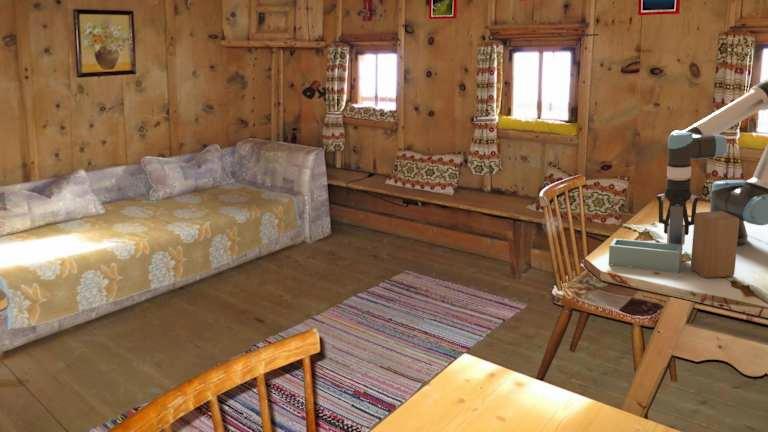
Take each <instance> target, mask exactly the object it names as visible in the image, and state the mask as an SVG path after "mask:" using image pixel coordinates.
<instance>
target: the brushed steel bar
mask: <svg viewBox="0 0 768 432" xmlns="http://www.w3.org/2000/svg"><path fill="white" fill-rule="evenodd" d="M669 224H670V231H669V243H668V244H678V245H682V226H683V225H684V218H683V206H681V205H678V204H676V205H673V206H671V207H670V219H669Z"/></svg>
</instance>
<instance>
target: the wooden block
mask: <svg viewBox="0 0 768 432" xmlns="http://www.w3.org/2000/svg"><path fill="white" fill-rule="evenodd" d="M738 230H739V218H738V217H735V216H733V215H731V214H728V213H726V212H723V211H712V212H710V211H700V212H699V211H698V212H696V213H695V218H694V225H693V231H692V232H693V233H692V234H693V235H692V244H691V245H692V247H691V259H690V269H691V271H694V272H695V273H697V274H698V275H699V276H702V277H704V278H705V279H714V278H727V277H733V276H734V275H735V271H736V269H735V268H736V259H737V250H738V249H737V247H738V245H737V240H738Z"/></svg>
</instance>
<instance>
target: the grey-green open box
mask: <svg viewBox="0 0 768 432" xmlns="http://www.w3.org/2000/svg"><path fill="white" fill-rule="evenodd" d="M683 246H684V245H678V244H669V243H667V242H664V243H663V242H655V241H644V240H633V239H624V238H613V240H612V241H611V242H610V244H609V249H608V250H609V252H608V253H609V254H608V265H609V264H613V265H612V266H617V265H620V266H619V267H625V266H631V267H630V268H634V267H637V268H638V269H643V268H644V269H645V270H651V269H653V271H661V270H662V271H661V272H668V273H669V272H670V273H679V272H680V269H681V266H682V260H683V258H682V257H683V248H684V247H683ZM621 265H622V266H621ZM637 268H636V269H637ZM644 269H643V270H644Z"/></svg>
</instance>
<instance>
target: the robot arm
mask: <svg viewBox="0 0 768 432" xmlns="http://www.w3.org/2000/svg"><path fill="white" fill-rule="evenodd" d="M767 110H768V78H766V79H765V80H764V79H763V80H762V81H760V82H759V83H757V84H756V85H753V86H752V87H750V88H749V90H748V92H747V93H745V94H744V95H742V96H740V97H739V98H737V99H735V100H734V101H732V102H730V103H729V104H727V105H725V106H723V107H721V108H720V109H718V110H716V111H714V112H713V113H710V114H709V115H708V116H706V117H704V118H703V119H701V120H699V121H697V122H696V123H694V124H692V125H690V126H689V127H687V128H685V129H677V130H673V131H672V132H671V133H670V134H669V135H668V137H667V166H666V167H667V168H666V177H667V178H666V186H665V187H666V189H665V192H664V193H662V194H660V193H659V194H658V195H657V196H656V199H657V202H658V223H660V224H663V233H664V234H666V243H668V244H669V231H670V207H671V206H673V205H676V204H678V205H681V206H683V218H684V222H683V226H682V245H683V246H684V245H685V244H686V243H685V241H686V236H688V235H689V233H690V231H689V230H690V227H691V226H694V218H695V213H697V204H698V202H699V200H700V196H698V195H694V194H692V191H691V183H692V182H691V181H692V179H691V178H692V177H691V176H692V164H693V163H692V162H693V160H701V159H711V158H712V159H714V158H718V157H722V156H724V154H726V152H727V149H728V148H727V147H728V142H727V140H726V138H725V137H724V136H723V135H721V133H723V132H724V131H726V130H728V129H730V128H732V127H734V126H735V125H737V124H739V123H740V122H742V121H744V120H746V119H748V118H749V117H751V116H753V115H754V114H756V113H757V112H760V111H767ZM759 159H760V160H759V162H758V164H757V165H756V169H755V170H754V172H753V176H752V177H751V178H749V179H747V180H744V179H723V180H716V181H713V183H712V185H711V190H710V193H711V194H710V206H709V212H712V211H723V212H726V213H728V214H731V215H733V216H735V217H738V218H739V230H738V240H737V246H743V245H745V244H747V243H748V233H747V229H746V226H745V225H746V224H745V222H746V223H748V224H750V225H756V226H766V225H768V142H767V143H766V146H765V148H764V150H763V153H762V155H761V157H760V158H759ZM665 198H666V199H667V201H668V202H669V203H668V209H667V211H666V216H665V219H664V201H665ZM689 199H690V201H691V203H692V205H691V214H690V219H689V215H688V209H687V202H688V201H689Z"/></svg>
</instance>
